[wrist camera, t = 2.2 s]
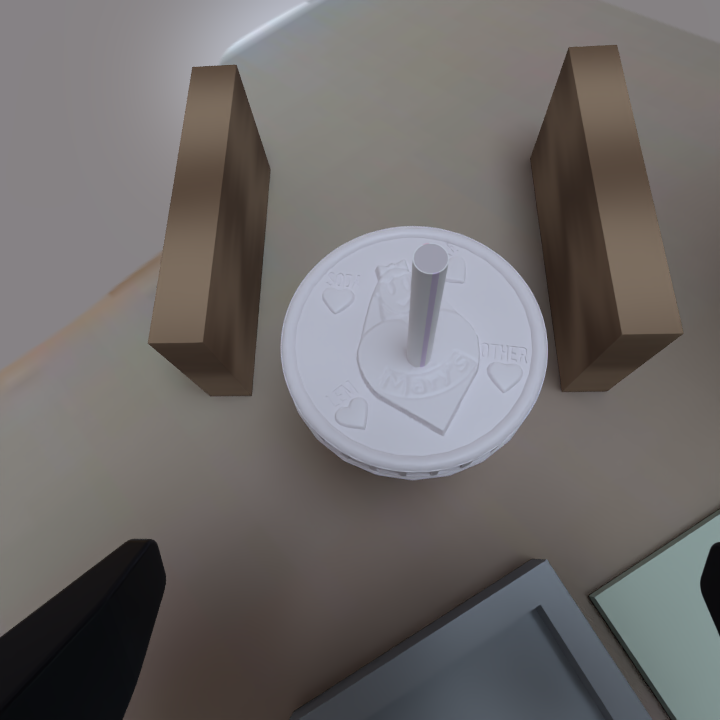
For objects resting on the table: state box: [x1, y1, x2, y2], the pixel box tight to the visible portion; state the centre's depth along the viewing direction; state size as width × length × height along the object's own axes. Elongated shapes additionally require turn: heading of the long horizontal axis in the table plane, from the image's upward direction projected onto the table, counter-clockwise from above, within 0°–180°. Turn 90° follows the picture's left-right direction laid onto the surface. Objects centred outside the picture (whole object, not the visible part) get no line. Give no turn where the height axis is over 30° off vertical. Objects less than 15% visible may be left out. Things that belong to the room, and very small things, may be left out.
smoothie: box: [281, 226, 548, 480], centre depth 15 cm, size 6×6×14 cm
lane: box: [148, 45, 683, 396], centre depth 21 cm, size 12×17×6 cm
